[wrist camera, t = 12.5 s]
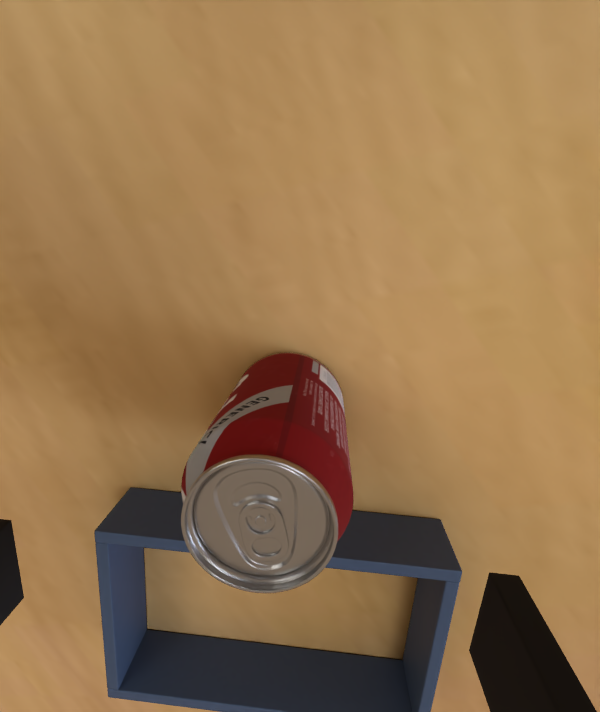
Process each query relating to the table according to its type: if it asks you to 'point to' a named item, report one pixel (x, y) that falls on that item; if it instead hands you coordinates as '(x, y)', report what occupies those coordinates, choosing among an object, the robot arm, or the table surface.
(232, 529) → the soda can
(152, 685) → the open box
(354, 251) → the table surface
